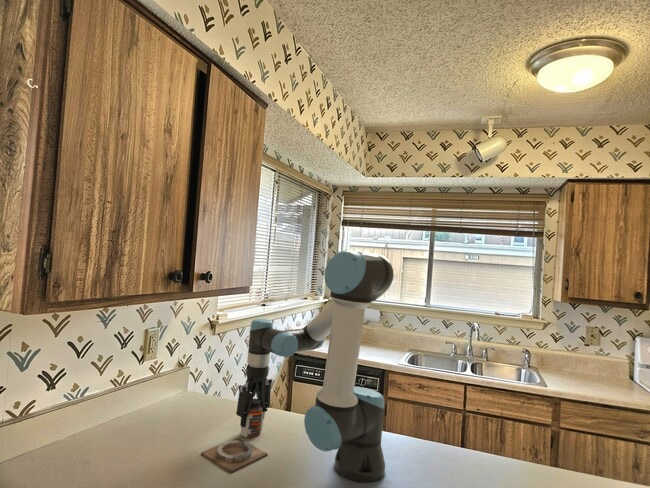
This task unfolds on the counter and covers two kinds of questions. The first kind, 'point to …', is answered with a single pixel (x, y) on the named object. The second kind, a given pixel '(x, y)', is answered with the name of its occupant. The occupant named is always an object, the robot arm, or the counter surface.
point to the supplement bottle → (255, 418)
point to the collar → (239, 457)
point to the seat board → (234, 451)
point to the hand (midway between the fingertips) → (251, 432)
